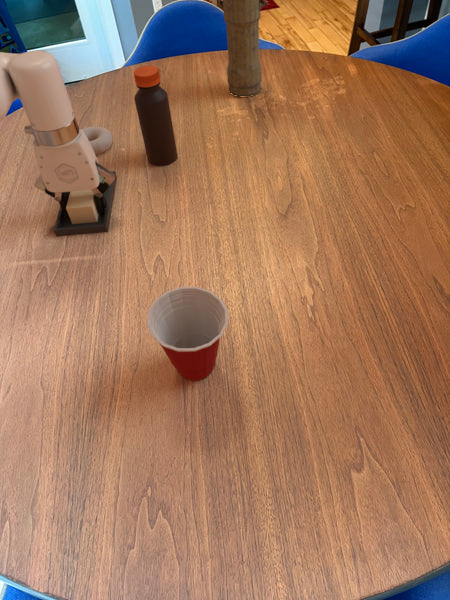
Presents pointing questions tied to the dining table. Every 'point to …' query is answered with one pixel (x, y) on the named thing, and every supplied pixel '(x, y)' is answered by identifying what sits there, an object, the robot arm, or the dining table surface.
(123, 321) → the dining table surface
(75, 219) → the tan block
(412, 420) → the dining table surface
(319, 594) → the dining table surface
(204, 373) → the plastic cup
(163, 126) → the bottle
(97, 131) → the donut
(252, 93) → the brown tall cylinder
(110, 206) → the tray
